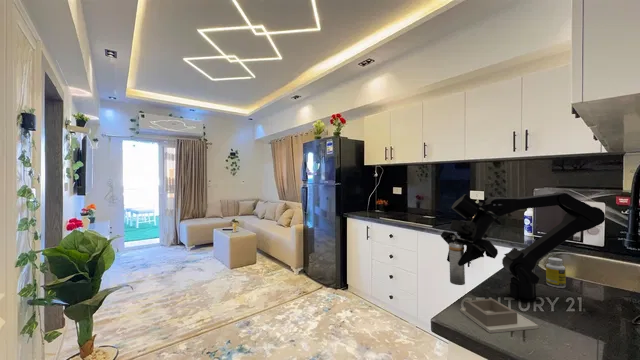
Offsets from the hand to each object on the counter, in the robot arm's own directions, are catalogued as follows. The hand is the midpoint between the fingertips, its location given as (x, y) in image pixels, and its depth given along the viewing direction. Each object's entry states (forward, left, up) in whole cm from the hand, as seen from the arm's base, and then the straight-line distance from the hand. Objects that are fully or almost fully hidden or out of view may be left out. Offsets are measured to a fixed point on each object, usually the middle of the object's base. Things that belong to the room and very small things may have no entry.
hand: (453, 263), depth 88 cm
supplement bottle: (-43, -5, -13) cm, 46 cm away
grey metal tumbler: (-1, 0, -7) cm, 7 cm away
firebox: (-4, +13, -12) cm, 18 cm away
